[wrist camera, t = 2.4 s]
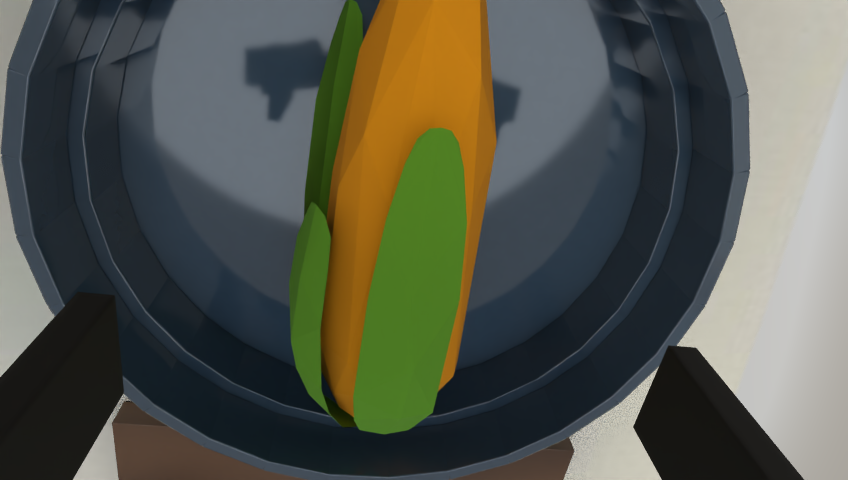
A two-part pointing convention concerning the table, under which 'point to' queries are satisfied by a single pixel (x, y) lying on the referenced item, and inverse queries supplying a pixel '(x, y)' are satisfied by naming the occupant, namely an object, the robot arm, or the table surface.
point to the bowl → (284, 213)
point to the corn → (393, 209)
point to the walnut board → (223, 476)
